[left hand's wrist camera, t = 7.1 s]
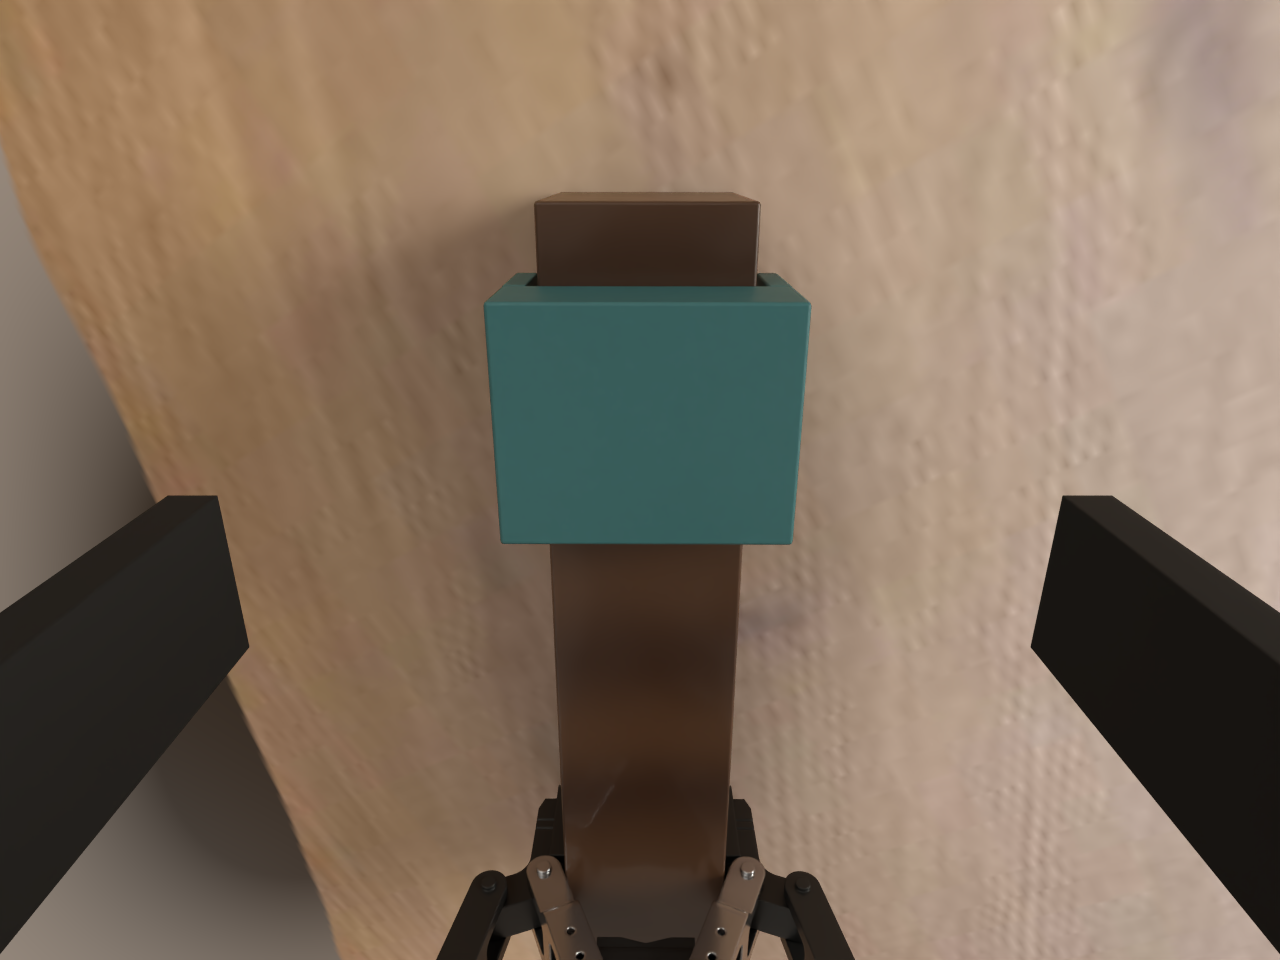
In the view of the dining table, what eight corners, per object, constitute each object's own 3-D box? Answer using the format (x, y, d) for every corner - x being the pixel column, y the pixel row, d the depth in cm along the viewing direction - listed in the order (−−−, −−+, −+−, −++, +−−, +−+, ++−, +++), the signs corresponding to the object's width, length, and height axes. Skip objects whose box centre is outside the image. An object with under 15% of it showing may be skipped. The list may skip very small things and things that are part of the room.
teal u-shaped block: (516, 272, 22) (482, 302, 18) (777, 273, 22) (812, 302, 18) (527, 472, 24) (500, 544, 20) (764, 472, 24) (793, 546, 20)
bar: (558, 192, 25) (533, 200, 19) (735, 192, 25) (761, 201, 19) (581, 830, 34) (568, 959, 29) (708, 831, 34) (720, 960, 29)
